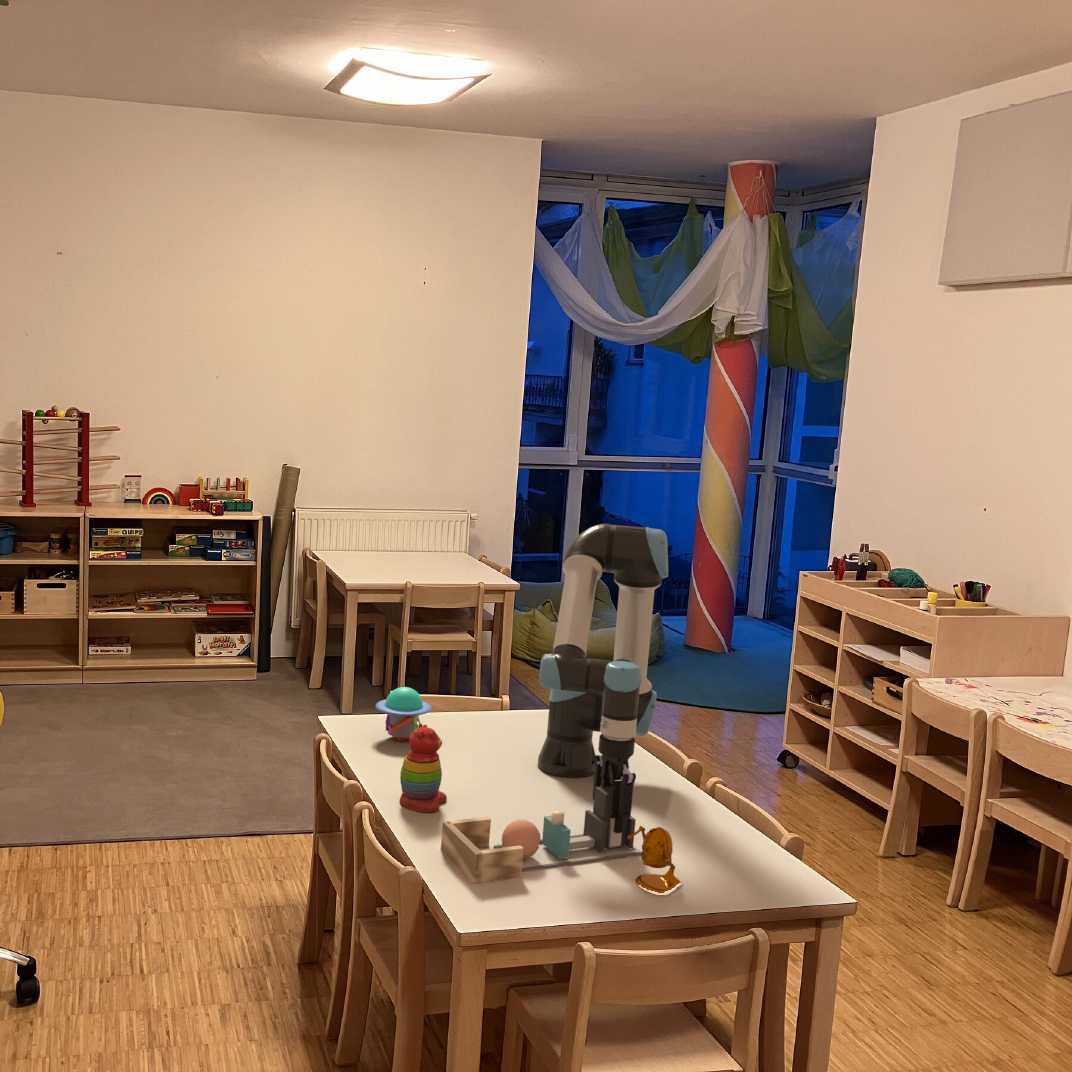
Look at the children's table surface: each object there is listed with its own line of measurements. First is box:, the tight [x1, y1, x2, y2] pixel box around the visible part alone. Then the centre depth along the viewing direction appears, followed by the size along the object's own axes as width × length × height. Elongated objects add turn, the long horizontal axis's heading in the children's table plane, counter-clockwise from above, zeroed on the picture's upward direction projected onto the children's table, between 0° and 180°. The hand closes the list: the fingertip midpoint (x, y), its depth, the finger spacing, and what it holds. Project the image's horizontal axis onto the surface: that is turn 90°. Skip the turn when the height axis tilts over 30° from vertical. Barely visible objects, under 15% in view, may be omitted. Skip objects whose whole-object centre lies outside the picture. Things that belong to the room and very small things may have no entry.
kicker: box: [541, 786, 637, 859], centre depth 243 cm, size 20×8×12 cm, turn 117°
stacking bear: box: [399, 724, 448, 814], centre depth 261 cm, size 11×10×18 cm
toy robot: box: [375, 686, 433, 742], centre depth 307 cm, size 15×15×14 cm
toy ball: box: [501, 819, 541, 860], centre depth 236 cm, size 8×8×8 cm
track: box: [493, 833, 642, 873], centre depth 242 cm, size 29×12×1 cm, turn 117°
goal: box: [440, 816, 524, 885], centre depth 232 cm, size 10×17×6 cm, turn 27°
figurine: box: [627, 825, 682, 893], centre depth 227 cm, size 8×11×12 cm
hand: (608, 840), depth 246 cm, fingers closed on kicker, 4 cm apart
